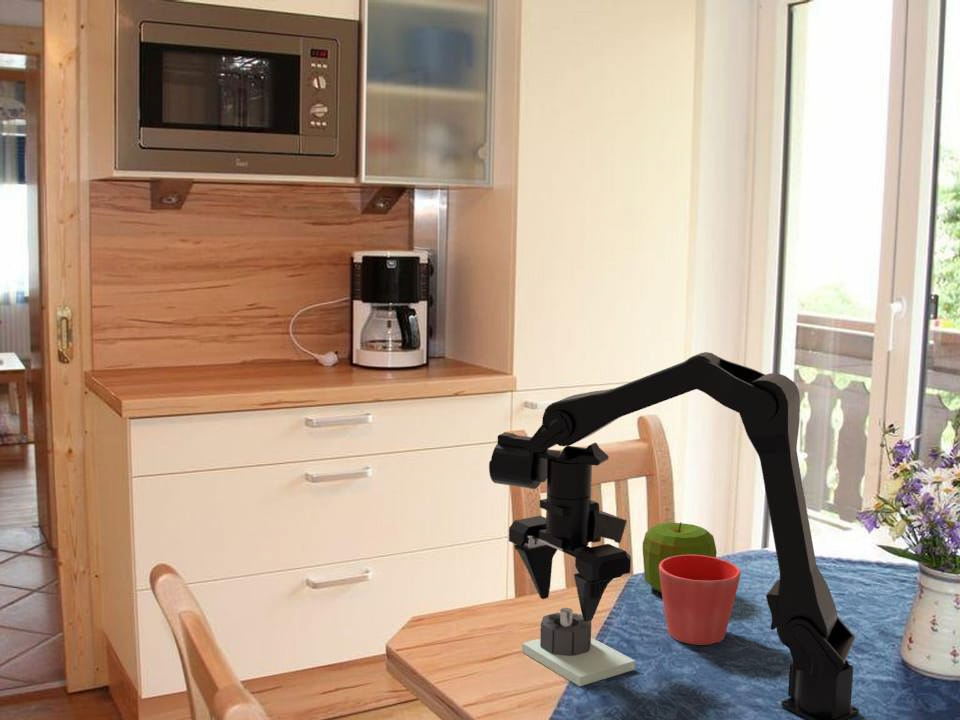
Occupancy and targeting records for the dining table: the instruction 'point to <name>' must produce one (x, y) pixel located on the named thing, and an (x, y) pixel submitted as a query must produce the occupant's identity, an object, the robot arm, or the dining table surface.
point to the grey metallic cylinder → (566, 617)
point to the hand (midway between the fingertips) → (565, 609)
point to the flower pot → (698, 597)
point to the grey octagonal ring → (565, 635)
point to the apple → (673, 546)
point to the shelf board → (582, 662)
